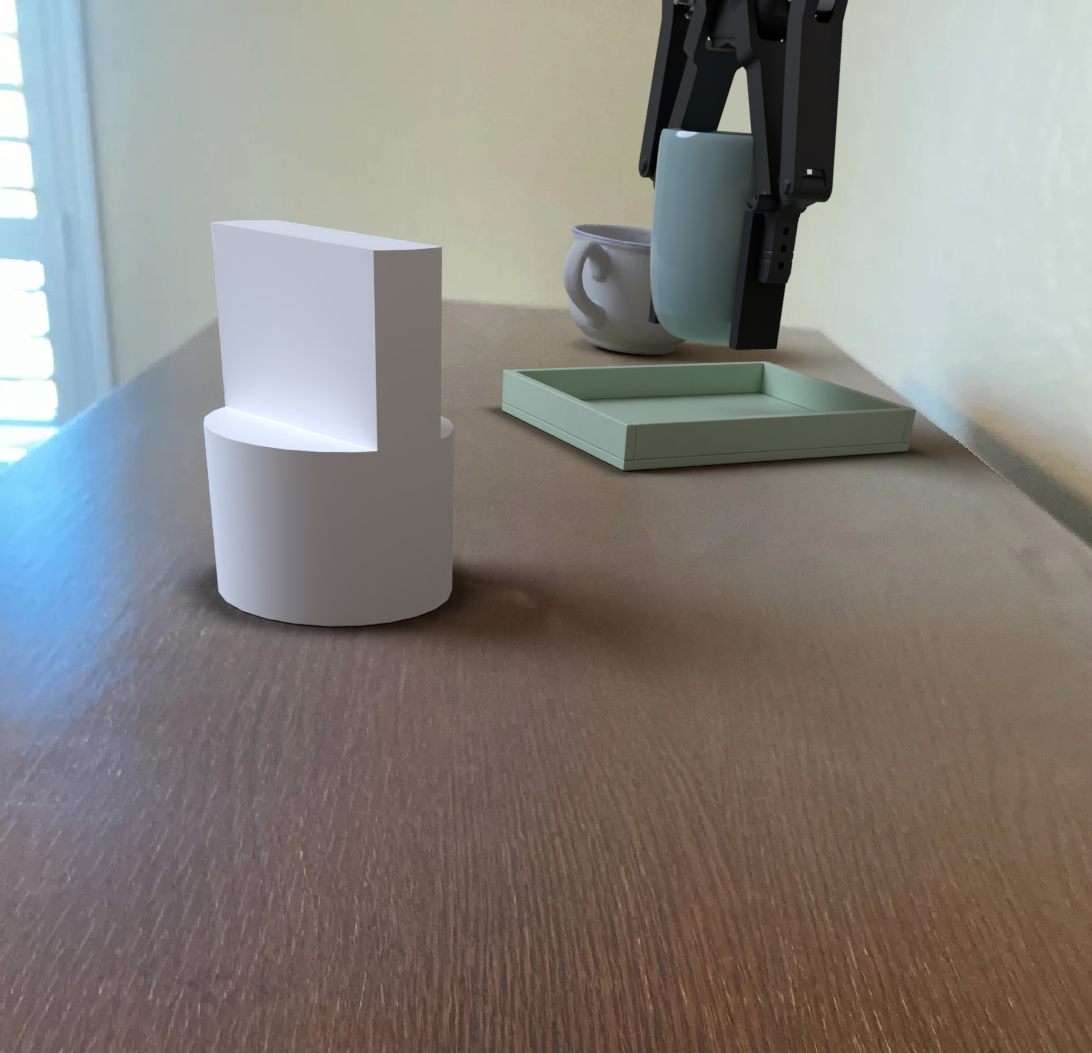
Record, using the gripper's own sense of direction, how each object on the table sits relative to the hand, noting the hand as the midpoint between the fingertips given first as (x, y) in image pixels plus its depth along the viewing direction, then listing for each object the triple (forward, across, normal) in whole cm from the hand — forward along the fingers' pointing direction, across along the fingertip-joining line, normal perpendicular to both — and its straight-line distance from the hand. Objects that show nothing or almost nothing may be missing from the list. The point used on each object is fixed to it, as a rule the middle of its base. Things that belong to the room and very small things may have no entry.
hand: (710, 334), depth 75 cm
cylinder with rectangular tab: (+5, +21, -30) cm, 37 cm away
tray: (+5, 0, 0) cm, 5 cm away
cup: (0, 0, 0) cm, 0 cm away
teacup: (+5, -26, +9) cm, 28 cm away
